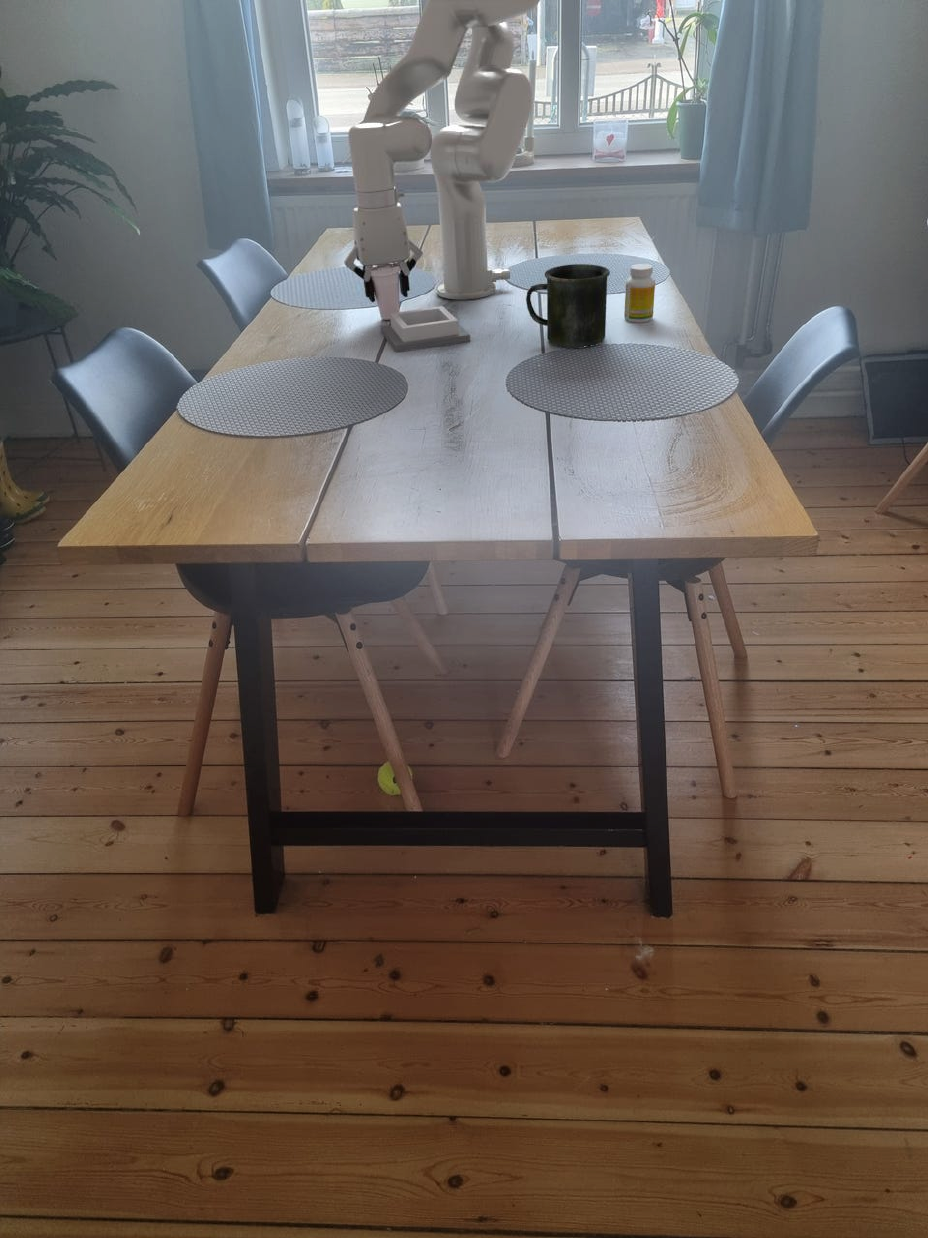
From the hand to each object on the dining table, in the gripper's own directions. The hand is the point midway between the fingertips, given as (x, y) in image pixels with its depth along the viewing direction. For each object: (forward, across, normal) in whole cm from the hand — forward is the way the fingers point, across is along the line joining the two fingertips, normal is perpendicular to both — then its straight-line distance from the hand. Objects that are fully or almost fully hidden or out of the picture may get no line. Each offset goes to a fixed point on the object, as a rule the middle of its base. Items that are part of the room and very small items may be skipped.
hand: (388, 296), depth 178 cm
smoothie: (+4, 0, 0) cm, 4 cm away
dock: (+4, -3, +14) cm, 15 cm away
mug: (+5, -26, +28) cm, 39 cm away
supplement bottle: (+5, -43, +22) cm, 49 cm away
